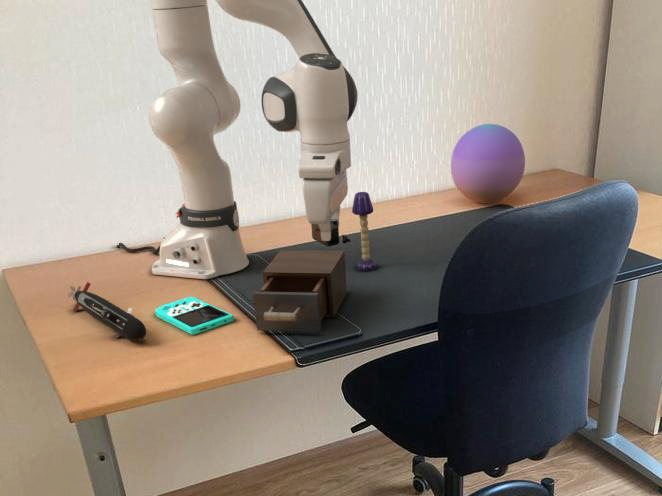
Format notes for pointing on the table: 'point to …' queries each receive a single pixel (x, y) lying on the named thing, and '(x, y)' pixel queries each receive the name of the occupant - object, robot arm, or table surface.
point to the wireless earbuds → (335, 235)
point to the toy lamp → (364, 228)
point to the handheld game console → (193, 315)
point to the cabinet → (313, 271)
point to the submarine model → (109, 314)
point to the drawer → (291, 304)
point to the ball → (487, 163)
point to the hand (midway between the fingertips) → (330, 234)
